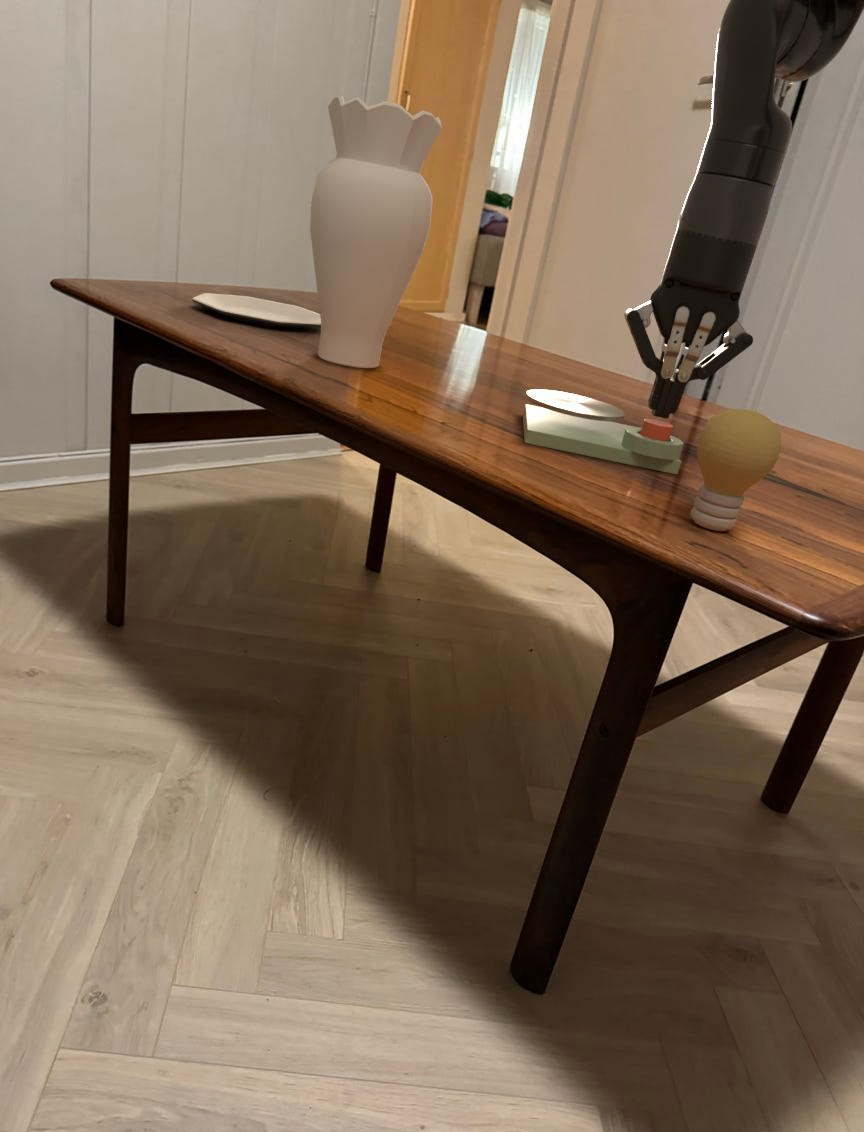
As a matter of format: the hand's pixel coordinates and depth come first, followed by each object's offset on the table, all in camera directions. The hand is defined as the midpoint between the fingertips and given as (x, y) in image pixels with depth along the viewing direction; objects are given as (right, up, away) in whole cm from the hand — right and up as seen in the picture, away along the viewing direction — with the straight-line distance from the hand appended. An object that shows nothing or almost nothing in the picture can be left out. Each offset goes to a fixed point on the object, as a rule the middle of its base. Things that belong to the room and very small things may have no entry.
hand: (659, 415), depth 92 cm
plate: (-47, +26, +45) cm, 70 cm away
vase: (-33, +13, +25) cm, 43 cm away
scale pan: (-7, +3, +7) cm, 11 cm away
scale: (-5, -1, +7) cm, 9 cm away
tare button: (0, -2, +1) cm, 2 cm away
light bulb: (0, -13, -15) cm, 20 cm away
